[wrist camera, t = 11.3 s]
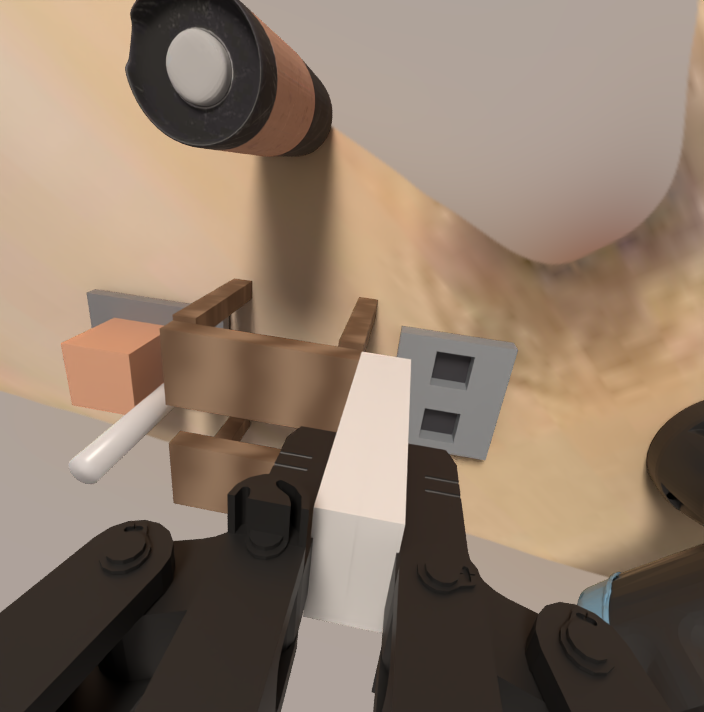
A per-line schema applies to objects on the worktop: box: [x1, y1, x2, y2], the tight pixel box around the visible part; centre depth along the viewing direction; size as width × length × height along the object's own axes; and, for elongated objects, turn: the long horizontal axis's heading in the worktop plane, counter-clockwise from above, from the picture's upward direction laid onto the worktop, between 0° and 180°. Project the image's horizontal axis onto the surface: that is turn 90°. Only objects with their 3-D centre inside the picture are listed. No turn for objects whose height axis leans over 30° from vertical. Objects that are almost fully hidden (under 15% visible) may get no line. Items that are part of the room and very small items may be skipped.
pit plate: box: [397, 326, 518, 460], centre depth 48 cm, size 12×14×2 cm
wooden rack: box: [91, 279, 378, 514], centre depth 44 cm, size 36×19×15 cm, turn 84°
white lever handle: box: [61, 289, 229, 484], centre depth 41 cm, size 16×12×21 cm
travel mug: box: [125, 0, 332, 156], centre depth 30 cm, size 8×8×20 cm
